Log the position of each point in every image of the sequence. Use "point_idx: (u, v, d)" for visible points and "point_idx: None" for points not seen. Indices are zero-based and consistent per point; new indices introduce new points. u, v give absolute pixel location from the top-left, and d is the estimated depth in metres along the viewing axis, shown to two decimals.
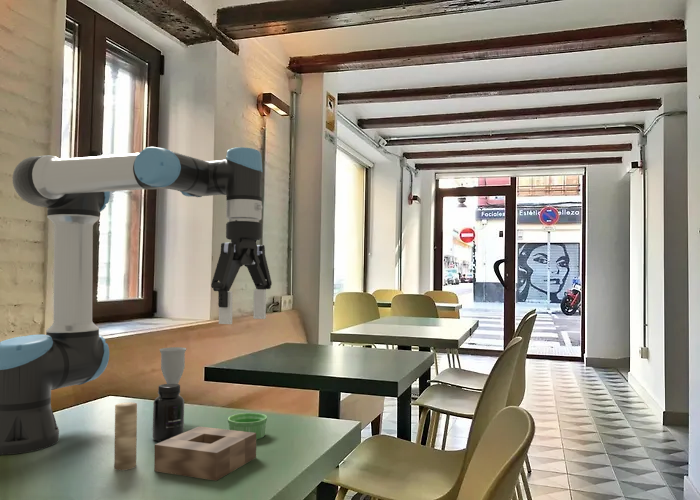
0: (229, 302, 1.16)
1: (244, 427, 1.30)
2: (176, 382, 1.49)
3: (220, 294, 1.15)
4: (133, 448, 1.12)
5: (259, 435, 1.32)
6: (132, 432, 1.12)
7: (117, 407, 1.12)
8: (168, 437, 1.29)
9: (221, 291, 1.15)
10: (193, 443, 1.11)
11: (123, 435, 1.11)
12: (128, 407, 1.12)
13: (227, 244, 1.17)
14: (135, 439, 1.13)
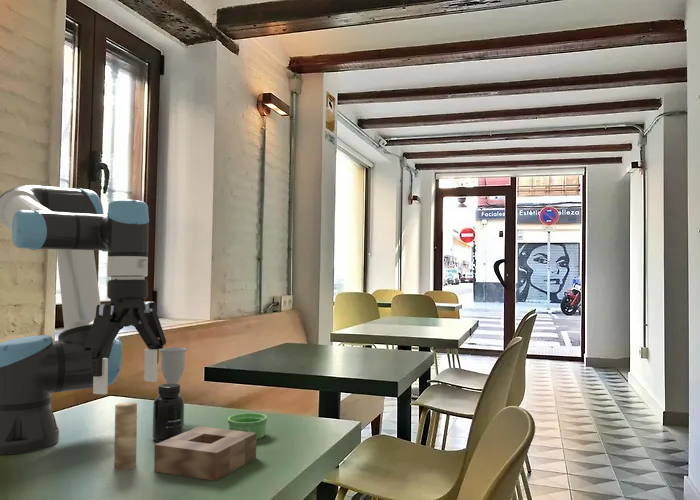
0: (103, 370, 1.07)
1: (244, 427, 1.30)
2: (176, 382, 1.49)
3: (93, 362, 1.06)
4: (133, 448, 1.12)
5: (259, 435, 1.32)
6: (132, 432, 1.12)
7: (117, 407, 1.12)
8: (168, 437, 1.29)
9: (94, 359, 1.06)
10: (193, 443, 1.11)
11: (123, 435, 1.11)
12: (128, 407, 1.12)
13: (102, 307, 1.08)
14: (135, 439, 1.13)
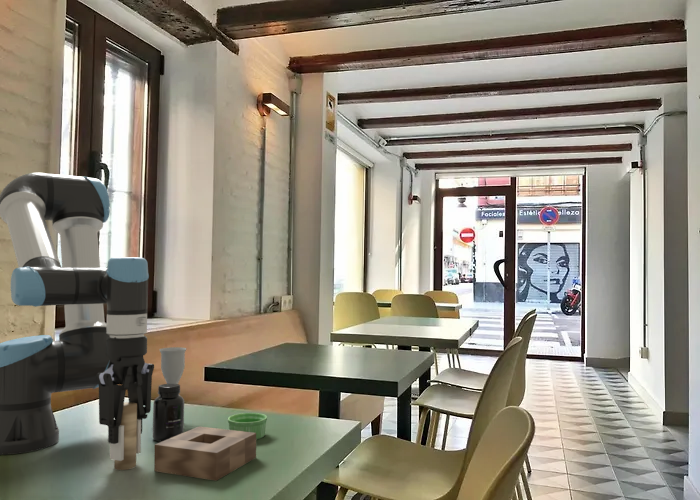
0: (120, 437, 1.10)
1: (244, 427, 1.30)
2: (176, 382, 1.49)
3: (110, 429, 1.10)
4: (133, 448, 1.12)
5: (259, 435, 1.32)
6: (132, 431, 1.12)
7: None
8: (168, 437, 1.29)
9: (111, 427, 1.10)
10: (193, 443, 1.11)
11: None
12: (128, 407, 1.12)
13: (102, 377, 1.08)
14: (135, 439, 1.13)
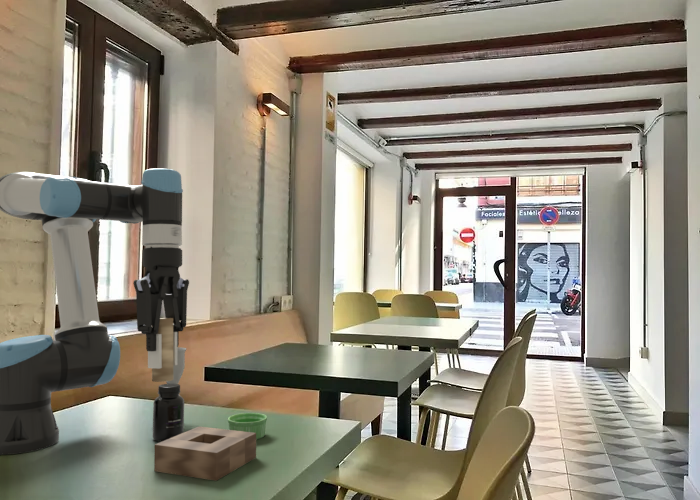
0: (158, 345, 1.11)
1: (244, 427, 1.30)
2: (176, 382, 1.49)
3: (148, 337, 1.11)
4: (170, 361, 1.13)
5: (259, 435, 1.32)
6: (169, 344, 1.13)
7: None
8: (168, 437, 1.29)
9: (148, 334, 1.10)
10: (193, 443, 1.11)
11: None
12: (165, 319, 1.12)
13: (139, 283, 1.08)
14: (172, 352, 1.14)
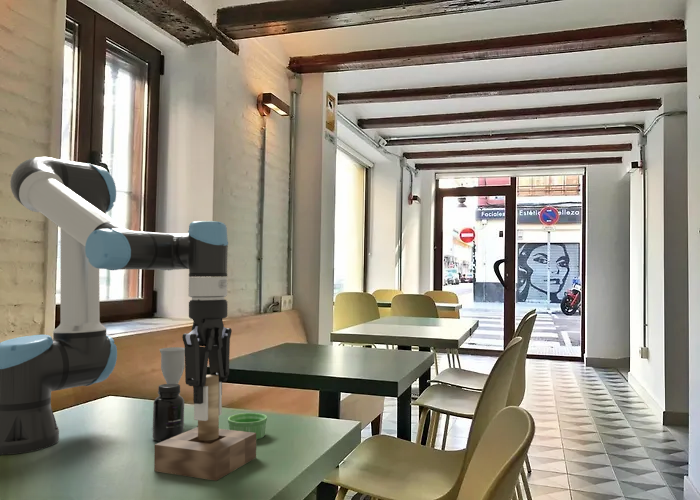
0: (204, 398, 1.12)
1: (244, 427, 1.30)
2: (176, 382, 1.49)
3: (195, 390, 1.12)
4: (216, 419, 1.14)
5: (259, 435, 1.32)
6: (216, 403, 1.14)
7: None
8: (168, 437, 1.29)
9: (196, 387, 1.11)
10: (193, 443, 1.11)
11: None
12: (211, 378, 1.13)
13: (188, 337, 1.09)
14: (218, 410, 1.15)
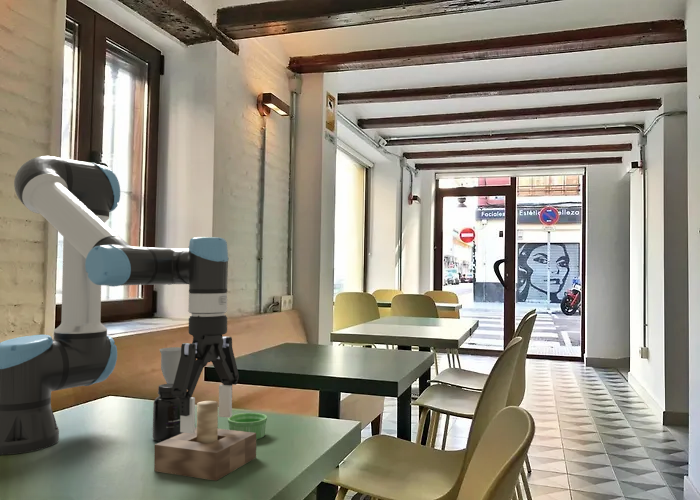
0: (191, 410, 1.08)
1: (244, 427, 1.30)
2: None
3: (181, 401, 1.08)
4: None
5: (259, 435, 1.32)
6: (214, 430, 1.14)
7: (200, 405, 1.13)
8: (168, 437, 1.29)
9: (182, 398, 1.08)
10: (193, 443, 1.11)
11: (206, 433, 1.13)
12: (211, 405, 1.13)
13: (187, 346, 1.09)
14: (216, 437, 1.15)
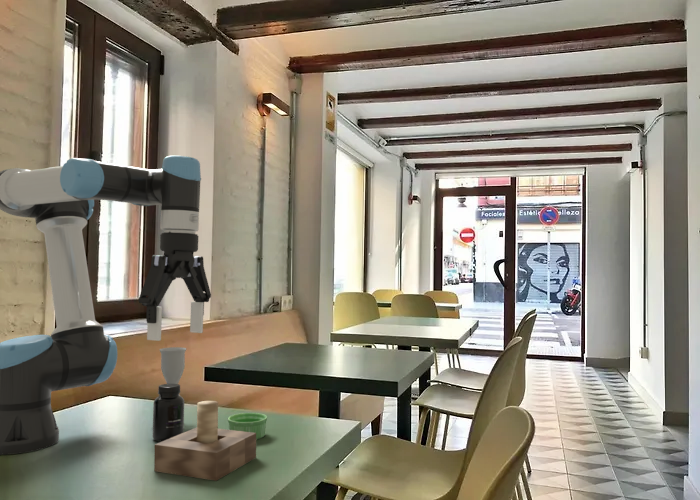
0: (158, 318, 1.11)
1: (244, 427, 1.30)
2: (176, 382, 1.49)
3: (148, 309, 1.11)
4: None
5: (259, 435, 1.32)
6: (215, 429, 1.14)
7: (200, 405, 1.13)
8: (168, 437, 1.29)
9: (149, 306, 1.11)
10: (193, 443, 1.11)
11: (206, 433, 1.13)
12: (211, 405, 1.13)
13: (158, 257, 1.12)
14: (217, 437, 1.15)
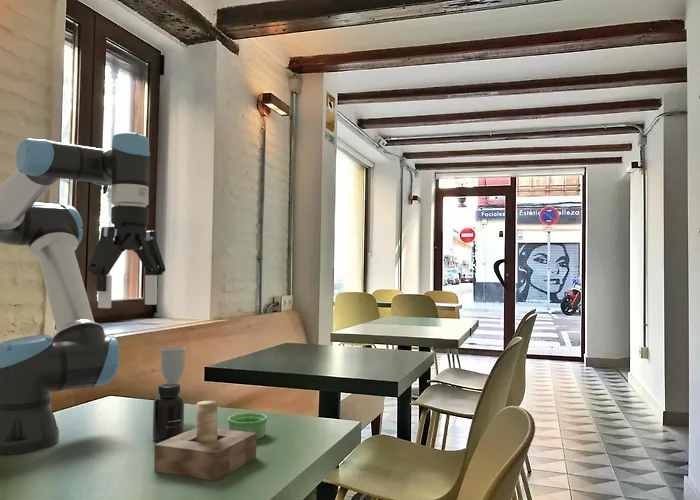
0: (107, 286, 1.16)
1: (244, 427, 1.30)
2: (176, 382, 1.49)
3: (98, 278, 1.16)
4: None
5: (259, 435, 1.32)
6: (214, 430, 1.14)
7: (199, 405, 1.13)
8: (168, 437, 1.29)
9: (99, 275, 1.15)
10: (193, 443, 1.11)
11: (206, 433, 1.13)
12: (210, 405, 1.13)
13: (107, 228, 1.17)
14: (216, 437, 1.14)
